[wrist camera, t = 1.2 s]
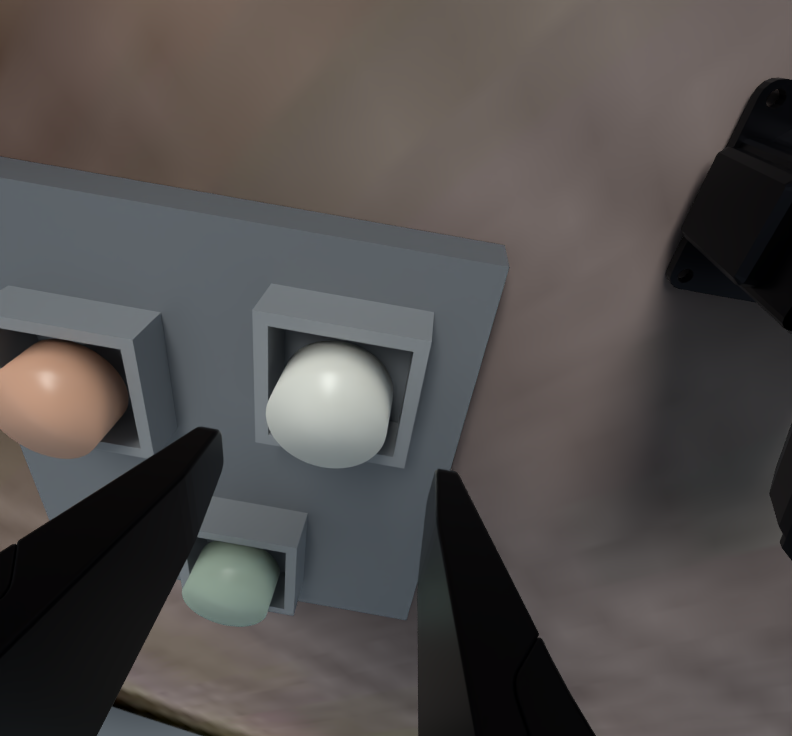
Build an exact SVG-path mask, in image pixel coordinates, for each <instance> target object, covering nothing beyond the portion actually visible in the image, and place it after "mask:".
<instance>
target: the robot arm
mask: <svg viewBox="0 0 792 736" xmlns="http://www.w3.org/2000/svg"><path fill="white" fill-rule="evenodd" d="M776 89H778V91H779V97H778V100H777V101H776V102H775V103H774V104H773V105H771V106H770V107H767V104H766V101H767V97H768V96H769V95H770V93H771V92H773V91H774V90H776ZM682 232H683V234H684V236H683V238H682V240H681V242H680V244H679V246H678V248H677V250H676V252H675V254H674V256H673V258H672V260H671V262H670V264H669V267H668V269H667V272H666V276H667V279H668V280H669V282H670V283H671V284H672V285H673V286H674V287H676V288H678V289H683V290H688V291H694V292H700V293H705V294H711V295H717V296H722V297H728V298H734V299H739V300H745V301H751V302H756V303H758V304H759V305H760V306H761V307H762V308H763V309H764V310H765V311H766V312H767V313H768V314H769V315H770V316H772V317H773V318H774V319H775V320H776V321H777V322H778V323H779V324H780V325H781V326H782V327H783V328H785V329H786V330H788V331H789V332H790V333H791V334H792V80H790V79H784V78H771V79H769V80H766V81H764V82H763V83H762V84H760V85H759V86H758V87H757V88H756V90H755V91H754V93H753V94H752V96H751V98H750V100H749V102H748V104H747V106H746V108H745V110H744V112H743V114H742V117H741V119H740V121H739V123H738V125H737V127H736V129H735V131H734V133H733V135H732V137H731V139H730V141H729V143H728V145H727V147H726V148H725V149H723V150H722V151H720V152H719V153H718V154H717V155H716V157H715V159H714V162H713V164H712V166H711V168H710V170H709V172H708V174H707V176H706V178H705V180H704V182H703V184H702V187H701V189H700V191H699V193H698V195H697V197H696V199H695V201H694V203H693V205H692V207H691V209H690V212H689V214H688V216H687V218H686V220H685V222H684V224H683V226H682ZM684 269H689V273H688V274H687V275H686V276H684V277H682V278H678V274H679V273H680V272H681V271H682V270H684ZM223 464H224V456H223V443H222V434H221V432H220V430H218V429H214V428H208V427H203V426H200V427H196V428H195V429H193V430H191V431H190V432H188V433H187V434H185V435H184V436H182V437H180V438H179V439H177V440H176V441H174V442H173V443H171V444H169V445H168V446H166V447H165V448H163V449H162V450H160V451H158V452H157V453H155V454H154V455H152V456H151V457H149V458H147V459H146V460H144V461H143V462H141V463H140V464H138V465H136V466H135V467H133V468H132V469H130V470H129V471H127V472H125V473H124V474H122V475H121V476H119V477H118V478H116V479H114V480H113V481H111V482H110V483H108V484H107V485H105V486H103V487H102V488H100V489H99V490H97V491H96V492H94V493H92V494H91V495H89V496H88V497H86V498H85V499H83V500H81V501H80V502H78V503H77V504H75V505H74V506H72V507H70V508H69V509H67V510H66V511H64V512H63V513H61V514H59V515H58V516H56V517H55V518H53V519H52V520H50V521H48V522H47V523H45V524H44V525H42V526H41V527H39V528H37V529H36V530H34V531H33V532H31V533H30V534H28V535H26V536H25V537H23V538H22V539H20V540H19V541H18V543H17V545H16V544H12V545H10V546H9V547H7V548H6V549H4V550H3V551H1V552H0V736H97V734H98V732H99V730H100V729H101V727H102V725H103V722H104V721H105V719H106V717H107V715H108V713H109V711H110V709H111V707H112V705H113V703H114V701H115V699H116V697H117V695H118V693H119V691H120V689H121V687H122V685H123V684H124V682H125V680H126V678H127V676H128V674H129V672H130V670H131V668H132V666H133V664H134V662H135V660H136V658H137V656H138V654H139V652H140V650H141V648H142V646H143V644H144V642H145V640H146V638H147V637H148V635H149V633H150V631H151V629H152V627H153V625H154V623H155V621H156V619H157V617H158V615H159V613H160V611H161V609H162V607H163V605H164V603H165V601H166V599H167V597H168V595H169V593H170V592H171V590H172V588H173V586H174V584H175V582H176V580H177V578H178V576H179V574H180V572H181V570H182V568H183V566H184V564H185V562H186V560H187V558H188V556H189V554H190V552H191V550H192V548H193V546H194V544H195V541H196V539H197V536H198V534H199V531H200V528H201V526H202V523H203V520H204V518H205V515H206V512H207V510H208V507H209V504H210V502H211V499H212V496H213V494H214V491H215V488H216V486H217V483H218V480H219V478H220V475H221V472H222V469H223ZM769 494H770V497H771V501H772V504H773V508H774V511H775V515H776V518H777V522H778V525H779V527H780V529H781V531H782V532H783V535H782V537H781V540H780V544H781V546H782V549H783V550H784V551H785V552H786V554H787V555H788V556H789V558H790V559H791V560H792V424H791V427H790V430H789V433H788V435H787V438H786V441H785V444H784V447H783V449H782V452H781V455H780V458H779V460H778V463H777V466H776V469H775V473H774V477H773V481H772V485H771V489H770V493H769ZM417 597H418V736H596V735H595V733H594V732H593V730H592V729H591V727H590V725H589V724H588V722H587V720H586V719H585V717H584V715H583V714H582V712H581V710H580V709H579V707H578V705H577V704H576V702H575V700H574V699H573V697H572V695H571V694H570V692H569V690H568V688H567V686H566V684H565V682H564V681H563V679H562V677H561V675H560V673H559V671H558V669H557V668H556V666H555V664H554V662H553V660H552V658H551V656H550V654H549V652H548V650H547V648H546V646H545V644H544V642H543V640H542V639H541V638H538V636H539V633H538V631H537V629H536V627H535V625H534V623H533V621H532V619H531V617H530V615H529V613H528V611H527V609H526V607H525V605H524V603H523V601H522V599H521V597H520V595H519V593H518V591H517V589H516V587H515V585H514V583H513V581H512V579H511V577H510V575H509V573H508V571H507V569H506V567H505V565H504V563H503V561H502V559H501V557H500V555H499V553H498V551H497V549H496V547H495V545H494V543H493V541H492V540H491V538H490V536H489V534H488V532H487V530H486V528H485V526H484V524H483V522H482V520H481V518H480V516H479V514H478V512H477V510H476V508H475V506H474V504H473V502H472V500H471V498H470V496H469V494H468V492H467V490H466V488H465V486H464V484H463V482H462V480H461V478H460V476H459V474H458V473H457V472H455V471H451V470H445V469H436V471H435V473H434V476H433V480H432V483H431V487H430V491H429V495H428V499H427V504H426V512H425V520H424V529H423V538H422V547H421V556H420V564H419V574H418V596H417Z"/></svg>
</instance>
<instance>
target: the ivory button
mask: <svg viewBox="0 0 792 736" xmlns="http://www.w3.org/2000/svg"><path fill="white" fill-rule="evenodd" d="M392 400H393V384H392V380H391V377H390V375H389V373H388V371H387V369H386V368H385V366H384V365H383V364H382V363H381V362H380V361H379V360H378V359H377V358H376V357H375V356H374V355H373V354H371V353H370V352H368V351H367V350H365V349H363V348H361V347H359V346H357V345H354V344H351V343H347V342H343V341H335V340H327V341H319V342H315V343H311V344H309V345H306V346H304V347H303V348H301V349H299V350H298V351H297V352H296V353H295V354H294V355H293V356H292V357H291V358H290V359H289V361H288V363H287V365H286V367H285V368H284V370H283V372H282V374H281V376H280V378H279V380H278V382H277V384H276V386H275V388H274V390H273V392H272V394H271V396H270V398H269V400H268V403H267V407H266V420H267V424H268V427H269V430H270V432H271V434H272V435H273V437H274V439H275V440H276V441H277V442H278V444H279V445H280V446H281V447H282V448H283V449H285V450H286V451H287V452H288V453H290V454H291V455H293V456H294V457H296V458H298V459H300V460H301V461H304V462H306V463H309V464H312V465H315V466H319V467H324V468H348V467H353V466H356V465H359V464H362V463H364V462H366V461H368V460H369V459H371V458H372V457H373V456H375V455H376V454H377V453H378V452H379V450H380V449H381V447H382V446H383V444H384V442H385V439H386V435H387V429H388V423H389V417H390V412H391V406H392Z"/></svg>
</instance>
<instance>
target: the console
mask: <svg viewBox="0 0 792 736" xmlns="http://www.w3.org/2000/svg"><path fill="white" fill-rule="evenodd" d="M508 270H509V263H508V259H507V254H506V249H505V245H501V244H495V243H489V242H483V241H478V240H472V239H466V238H461V237H455V236H449V235H444V234H438V233H432V232H427V231H421V230H415V229H410V228H404V227H398V226H393V225H387V224H381V223H376V222H370V221H364V220H358V219H353V218H347V217H341V216H336V215H330V214H324V213H319V212H313V211H307V210H302V209H296V208H290V207H285V206H279V205H273V204H268V203H262V202H256V201H251V200H245V199H239V198H233V197H228V196H222V195H216V194H211V193H205V192H199V191H194V190H188V189H182V188H177V187H171V186H165V185H160V184H154V183H148V182H143V181H137V180H131V179H126V178H120V177H114V176H108V175H103V174H97V173H91V172H86V171H80V170H74V169H69V168H63V167H57V166H52V165H46V164H40V163H35V162H29V161H23V160H18V159H12V158H6V157H0V369H1V368H2V367H4V366H5V365H6V364H8V363H9V362H10V361H12V360H13V359H14V358H16V357H17V356H18V355H20V354H21V353H22V352H24V351H25V350H26V349H28V348H29V347H30V346H32V345H33V344H34V343H36V342H38V341H42V340H46V339H62V340H68V341H72V342H75V343H78V344H81V345H83V346H85V347H87V348H89V349H91V350H93V351H94V352H96V353H98V354H99V355H100V356H102V357H103V358H104V359H106V360H107V361H108V362H109V363H110V364H111V365H112V366H113V367H114V368H115V369H116V370H117V372H118V373H119V374H120V376H121V377H122V379H123V381H124V383H125V385H126V387H127V391H128V396H129V403H128V407H127V410H126V412H125V413H124V414H123V416H122V417H121V418H120V419H119V420H118V421H117V422H116V424H115V425H114V426H113V427H112V428H111V429H110V431H109V432H108V433H107V434H106V435H105V436H104V438H103V439H102V440H101V441H100V442H99V443H98V445H97V446H96V447H95V448H94V449H93V450H92V451H91V452H90V453H89V454H87V455H85V456H82V457H79V458H74V459H60V458H54V457H49V456H46V455H42V454H39V453H37V452H34V451H32V450H30V449H28V448H26V447H24V446H22V445H21V444H20V446H21V449H22V451H23V454H24V457H25V459H26V462H27V464H28V467H29V469H30V472H31V474H32V477H33V479H34V482H35V485H36V487H37V490H38V492H39V495H40V497H41V500H42V502H43V505H44V507H45V510H46V513H47V515H48V518H49V520H52V519H53V518H55V517H56V516H58V515H59V514H61V513H63V512H64V511H66V510H67V509H69V508H70V507H72V506H74V505H75V504H77V503H78V502H80V501H81V500H83V499H85V498H86V497H88V496H89V495H91V494H92V493H94V492H96V491H97V490H99V489H100V488H102V487H103V486H105V485H107V484H108V483H110V482H111V481H113V480H114V479H116V478H118V477H119V476H121V475H122V474H124V473H125V472H127V471H129V470H130V469H132V468H133V467H135V466H136V465H138V464H140V463H141V462H143V461H144V460H146V459H147V458H149V457H151V456H152V455H154V454H155V453H157V452H158V451H160V450H162V449H163V448H165V447H166V446H168V445H169V444H171V443H173V442H174V441H176V440H177V439H179V438H180V437H182V436H184V435H185V434H187V433H188V432H190V431H191V430H193V429H195V428H196V427H200V426H203V427H208V428H214V429H218V430H220V432H221V434H222V443H223V456H224V464H223V469H222V472H221V475H220V478H219V480H218V483H217V486H216V488H215V491H214V494H213V496H212V499H211V502H210V504H209V507H208V510H207V512H206V515H205V518H204V520H203V523H202V526H201V528H200V531H199V534H198V536H197V539H196V541H195V544H194V546H193V548H192V550H191V552H190V554H189V556H188V558H187V560H186V562H185V564H184V566H183V568H182V570H181V572H180V574H179V576H178V578H177V579H178V580H181V583H182V589H183V587H184V585H185V583H186V581H187V579H188V577H189V575H190V573H191V571H192V569H193V567H194V565H195V563H196V561H197V559H198V557H199V555H200V553H201V551H202V549H203V547H204V546H205V545H207V544H208V543H210V542H212V541H215V540H216V541H222V542H227V543H233V544H238V545H244V546H250V547H255V548H261V549H264V550H265V551H267V552H268V553H269V554H270V555H271V556H272V557H273V558H274V559H275V560H276V562H277V563H278V565H279V568H280V575H279V578H278V581H277V584H276V587H275V590H274V593H273V597H272V600H271V603H270V606H269V609H268V611H269V612H275V613H280V614H286V615H292V616H294V613H295V609H296V605H297V602H298V601H301V602H307V603H312V604H318V605H324V606H329V607H335V608H340V609H346V610H352V611H357V612H363V613H368V614H374V615H380V616H385V617H391V618H396V619H402V620H406V619H407V616H408V613H409V609H410V606H411V602H412V599H413V595H414V592H415V589H416V585H417V582H418V574H419V564H420V556H421V547H422V538H423V529H424V520H425V512H426V504H427V499H428V495H429V491H430V487H431V483H432V480H433V476H434V473H435V471H436V469H445V470H450V469H451V465H452V462H453V458H454V455H455V452H456V448H457V445H458V441H459V438H460V434H461V431H462V428H463V424H464V421H465V417H466V414H467V410H468V407H469V404H470V400H471V397H472V393H473V390H474V386H475V383H476V380H477V376H478V373H479V369H480V366H481V362H482V359H483V356H484V352H485V349H486V345H487V342H488V339H489V335H490V332H491V328H492V325H493V321H494V318H495V315H496V311H497V308H498V304H499V301H500V297H501V294H502V291H503V287H504V284H505V280H506V277H507V273H508ZM327 340H335V341H343V342H347V343H351V344H354V345H357V346H359V347H361V348H363V349H365V350H367V351H368V352H370V353H371V354H373V355H374V356H375V357H376V358H377V359H378V360H379V361H380V362H381V363H382V364H383V365H384V366H385V368H386V369H387V371H388V373H389V375H390V377H391V380H392V384H393V400H392V406H391V412H390V417H389V423H388V429H387V435H386V439H385V442H384V444H383V446H382V447H381V449H380V450H379V452H378V453H377V454H376V455H375V456H373V457H372V458H371V459H369V460H368V461H366V462H364V463H362V464H359V465H356V466H353V467H348V468H324V467H319V466H315V465H312V464H309V463H306V462H304V461H301V460H300V459H298V458H296V457H294V456H293V455H291V454H290V453H288V452H287V451H286V450H285V449H283V448H282V447H281V446H280V445H279V444H278V442H277V441H276V440H275V439H274V437H273V435H272V434H271V432H270V430H269V427H268V424H267V420H266V407H267V403H268V400H269V398H270V396H271V394H272V392H273V390H274V388H275V386H276V384H277V382H278V380H279V378H280V376H281V374H282V372H283V370H284V368H285V367H286V365H287V363H288V361H289V359H290V358H291V357H292V356H293V355H294V354H295V353H296V352H297V351H298V350H299V349H301V348H303V347H304V346H306V345H309V344H311V343H315V342H319V341H327Z"/></svg>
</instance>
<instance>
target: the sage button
mask: <svg viewBox="0 0 792 736" xmlns="http://www.w3.org/2000/svg"><path fill="white" fill-rule="evenodd" d="M279 575H280V568H279V565H278V563H277V562H276V560H275V559H274V558H273V557H272V556H271V555H270V554H269V553H268V552H267V551H265V550H264V549H261V548H255V547H250V546H244V545H238V544H233V543H227V542H222V541H216V540H215V541H212V542H210V543H208V544H207V545H205V546H204V547H203V549H202V551H201V553H200V555H199V557H198V559H197V561H196V563H195V565H194V567H193V569H192V571H191V573H190V575H189V577H188V579H187V581H186V583H185V585H184V587H183V590H182V596H183V599H184V601H185V603H186V604H187V605H188V606H189V608H190V609H192V610H193V611H194V612H195V613H197V614H198V615H200V616H202V617H204V618H206V619H208V620H210V621H213V622H216V623H219V624H223V625H228V626H237V627H243V626H251V625H255V624H257V623H259V622H261V621H262V620H263V619H264V618H265V617H266V615H267V612H268V609H269V606H270V603H271V600H272V597H273V593H274V590H275V587H276V584H277V581H278V578H279Z"/></svg>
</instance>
